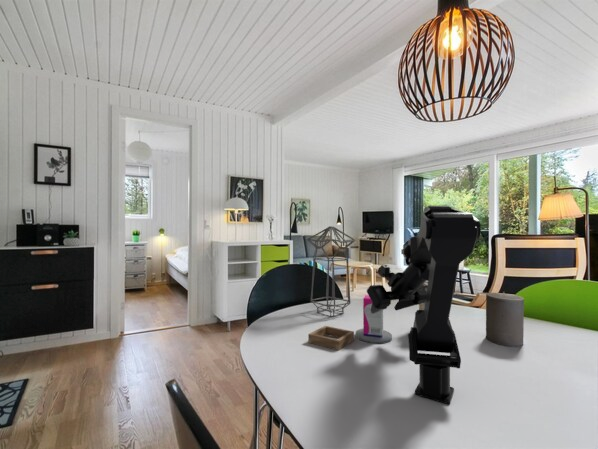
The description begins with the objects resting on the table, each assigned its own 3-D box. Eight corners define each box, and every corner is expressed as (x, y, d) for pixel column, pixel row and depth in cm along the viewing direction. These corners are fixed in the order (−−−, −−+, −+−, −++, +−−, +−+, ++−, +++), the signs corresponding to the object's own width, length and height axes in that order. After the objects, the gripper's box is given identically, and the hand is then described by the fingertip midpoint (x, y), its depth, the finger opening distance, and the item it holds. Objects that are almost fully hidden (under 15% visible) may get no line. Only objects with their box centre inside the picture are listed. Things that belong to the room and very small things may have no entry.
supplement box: (383, 331, 97) (383, 295, 97) (382, 337, 92) (382, 299, 92) (364, 329, 99) (365, 294, 99) (362, 335, 93) (363, 298, 94)
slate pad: (385, 346, 88) (385, 342, 88) (349, 338, 94) (349, 335, 94) (396, 335, 97) (396, 332, 97) (363, 329, 103) (363, 326, 103)
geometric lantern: (303, 312, 123) (304, 226, 124) (329, 306, 134) (330, 226, 135) (332, 321, 112) (333, 225, 113) (358, 313, 122) (359, 226, 123)
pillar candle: (478, 337, 96) (478, 289, 96) (500, 333, 99) (500, 287, 100) (509, 349, 87) (509, 296, 87) (532, 344, 90) (532, 293, 90)
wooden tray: (339, 350, 84) (339, 341, 84) (308, 342, 90) (308, 334, 90) (353, 339, 93) (353, 331, 93) (324, 333, 98) (324, 325, 98)
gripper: (420, 254, 91) (393, 286, 101) (371, 256, 83) (346, 290, 92) (443, 285, 84) (412, 316, 93) (392, 290, 75) (363, 323, 85)
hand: (383, 310), depth 91 cm, fingers open, 9 cm apart
